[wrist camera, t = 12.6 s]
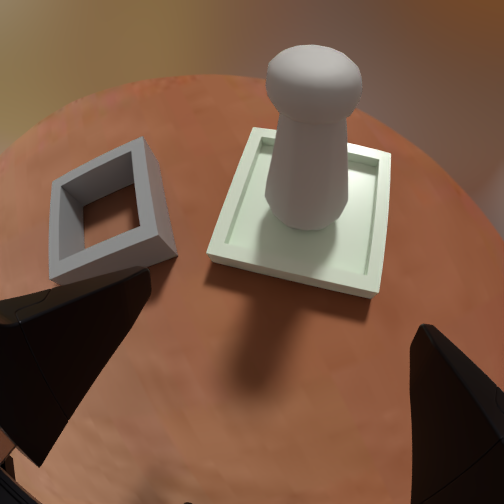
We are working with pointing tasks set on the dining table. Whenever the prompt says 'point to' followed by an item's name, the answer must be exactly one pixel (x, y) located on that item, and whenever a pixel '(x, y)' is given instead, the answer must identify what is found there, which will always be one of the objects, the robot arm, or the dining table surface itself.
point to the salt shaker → (310, 134)
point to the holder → (93, 188)
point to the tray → (308, 242)
